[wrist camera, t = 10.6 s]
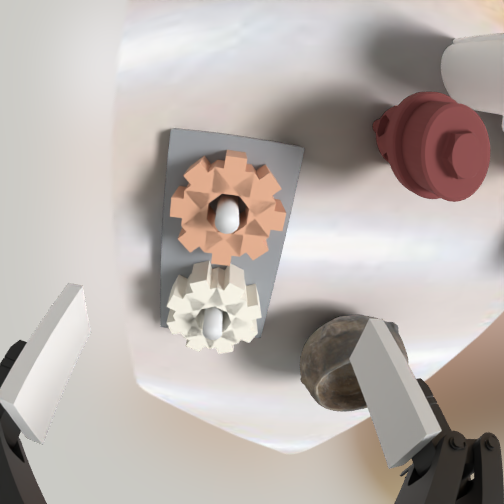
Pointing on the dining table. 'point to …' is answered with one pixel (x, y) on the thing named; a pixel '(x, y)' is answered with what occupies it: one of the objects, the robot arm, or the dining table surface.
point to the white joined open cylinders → (476, 72)
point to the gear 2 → (214, 295)
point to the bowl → (337, 362)
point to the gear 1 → (233, 183)
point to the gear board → (172, 225)
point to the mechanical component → (434, 146)
